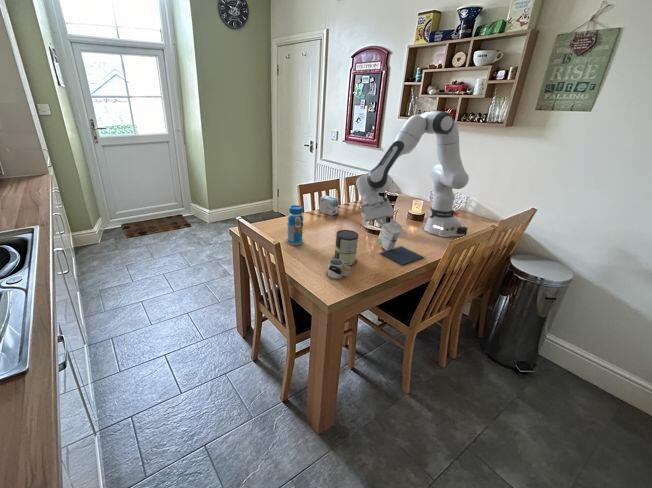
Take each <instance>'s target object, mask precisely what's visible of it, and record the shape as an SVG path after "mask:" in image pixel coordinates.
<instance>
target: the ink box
mask: <svg viewBox="0 0 652 488" xmlns="http://www.w3.org/2000/svg"><path fill="white" fill-rule="evenodd" d="M402 227H403V226H402V225H401V224H400V223H398V222H397V221H396V220H395V219H394V218H390V222H386V224H383V226H382V227H381V229H380V231H379V235H378V237H377V240H376V242H377V244H378V245H379V246H380V247H382V248H383V249H384V250H385V252H386V251H389V250H392V249H395V246H396V245H397V241H398V238H399V236H400V233H401V230H402Z"/></svg>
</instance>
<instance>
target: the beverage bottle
mask: <svg viewBox="0 0 652 488" xmlns="http://www.w3.org/2000/svg"><path fill="white" fill-rule="evenodd" d="M288 209H289V215H288V216H287V237H286V238H287V240H286V242H287V244H289V245H293V246H297V245H301V244H302V243H303V231H304V230H303V229H304V222H303V221H304V216H303V207H302V206H301V205H295V204H293V205H290V206H289V208H288Z"/></svg>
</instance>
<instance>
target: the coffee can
mask: <svg viewBox="0 0 652 488" xmlns="http://www.w3.org/2000/svg"><path fill="white" fill-rule="evenodd" d="M335 233H336V237H335V249H334V258H333V259H341V260H343V261H344V264H345V265H347V266H351V265H354V264H355V263H356V258H357V248H358V242H359V241H358V240H359V233H358V232H356V231H355V230H352V229H340V230H337V231H336V232H335Z"/></svg>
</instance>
